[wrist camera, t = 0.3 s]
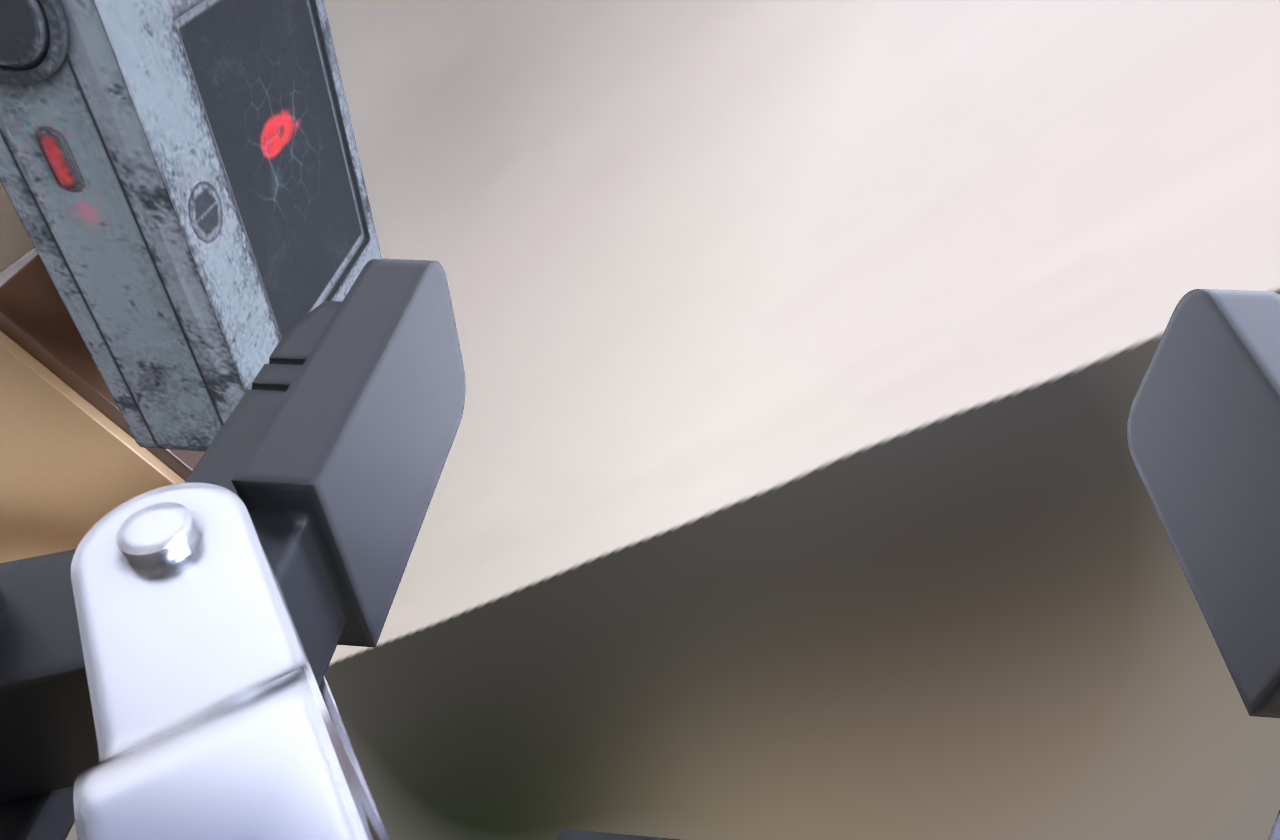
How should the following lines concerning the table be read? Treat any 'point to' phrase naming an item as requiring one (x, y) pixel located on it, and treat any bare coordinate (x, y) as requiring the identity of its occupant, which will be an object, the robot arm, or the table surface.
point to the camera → (182, 188)
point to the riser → (61, 426)
